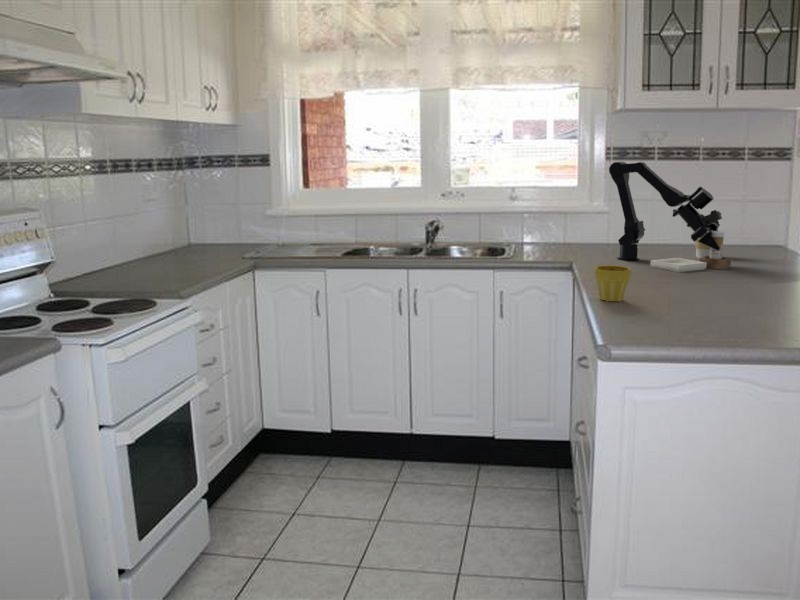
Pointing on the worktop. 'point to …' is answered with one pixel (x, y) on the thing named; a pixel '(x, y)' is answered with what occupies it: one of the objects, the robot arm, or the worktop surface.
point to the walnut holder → (717, 262)
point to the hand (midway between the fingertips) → (720, 248)
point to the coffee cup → (703, 247)
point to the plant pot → (612, 281)
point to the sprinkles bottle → (718, 238)
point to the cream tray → (678, 264)
